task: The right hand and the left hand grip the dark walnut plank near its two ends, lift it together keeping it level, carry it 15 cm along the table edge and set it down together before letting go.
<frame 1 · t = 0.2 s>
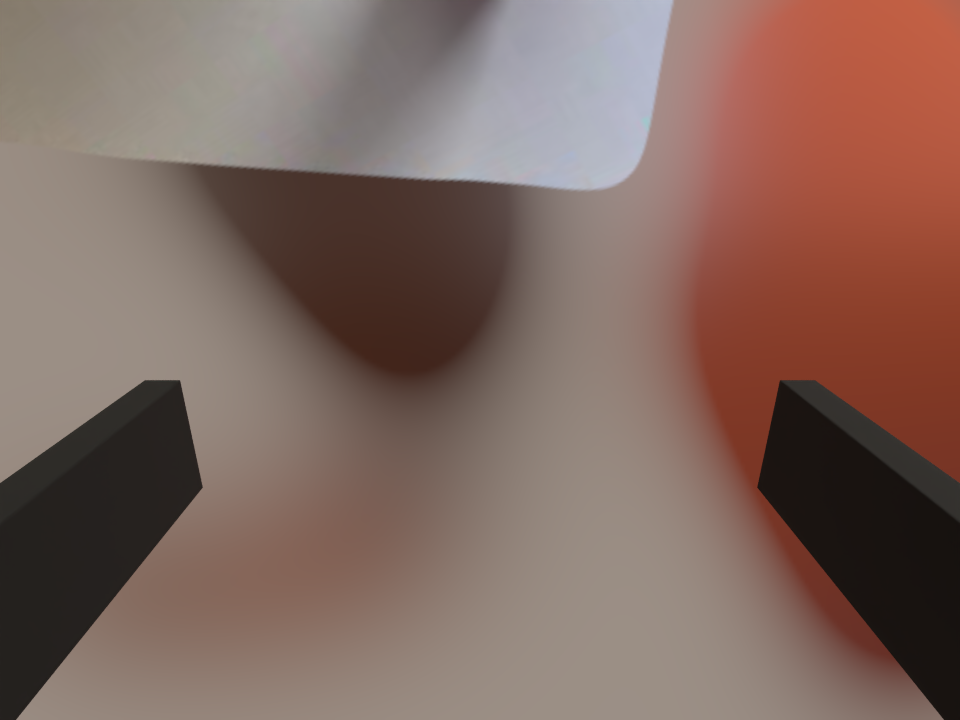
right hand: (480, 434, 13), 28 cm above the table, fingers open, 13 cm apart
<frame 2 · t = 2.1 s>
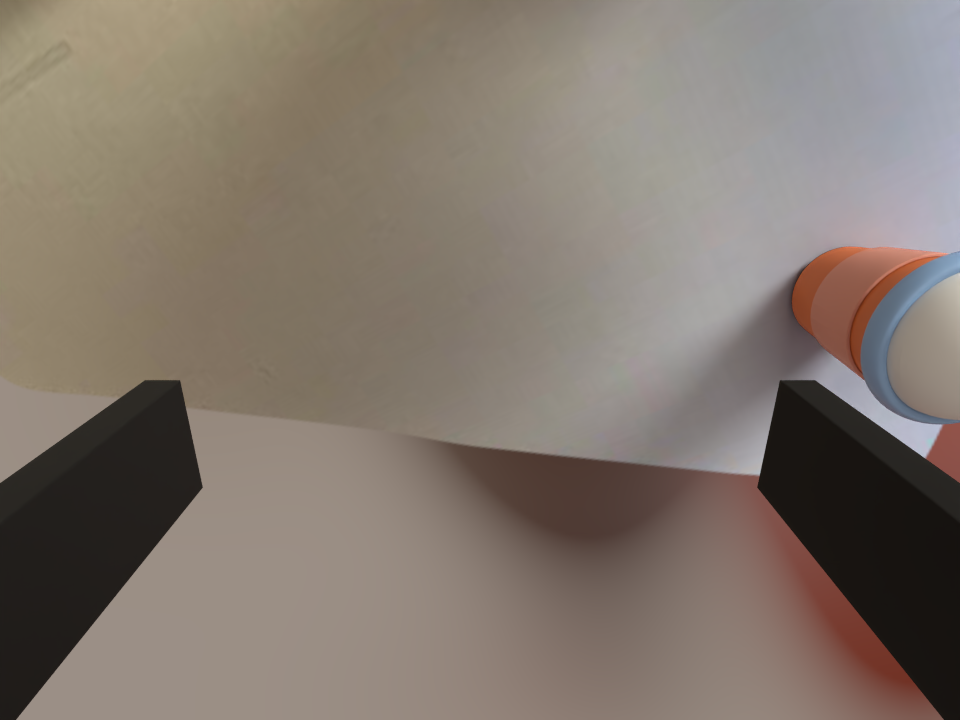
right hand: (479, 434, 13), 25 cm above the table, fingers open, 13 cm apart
cup with straw: (835, 291, 38), on the table
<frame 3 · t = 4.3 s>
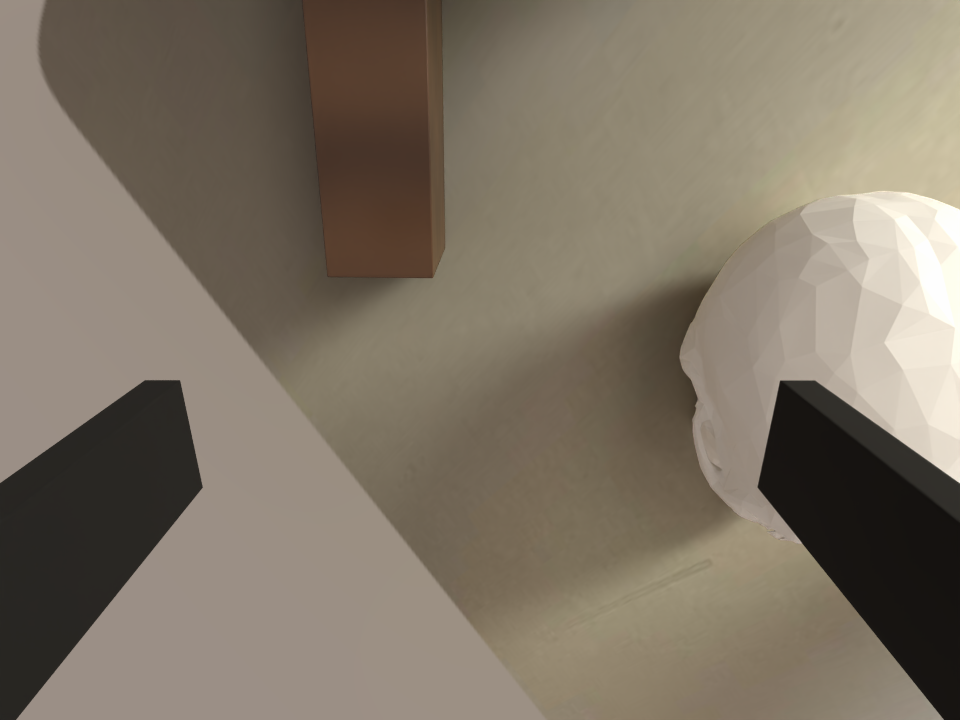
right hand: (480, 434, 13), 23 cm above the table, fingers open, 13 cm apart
skull: (764, 360, 36), on the table
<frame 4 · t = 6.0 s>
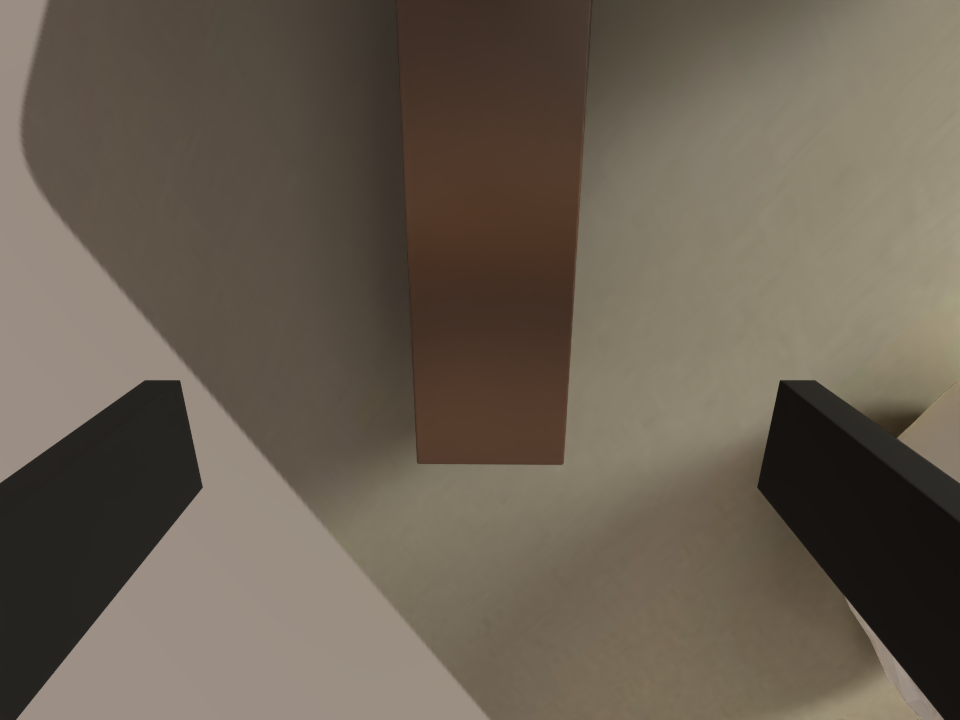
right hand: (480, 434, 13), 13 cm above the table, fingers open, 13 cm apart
walnut plank: (491, 67, 22), on the table, touching left hand
skull: (935, 501, 29), on the table
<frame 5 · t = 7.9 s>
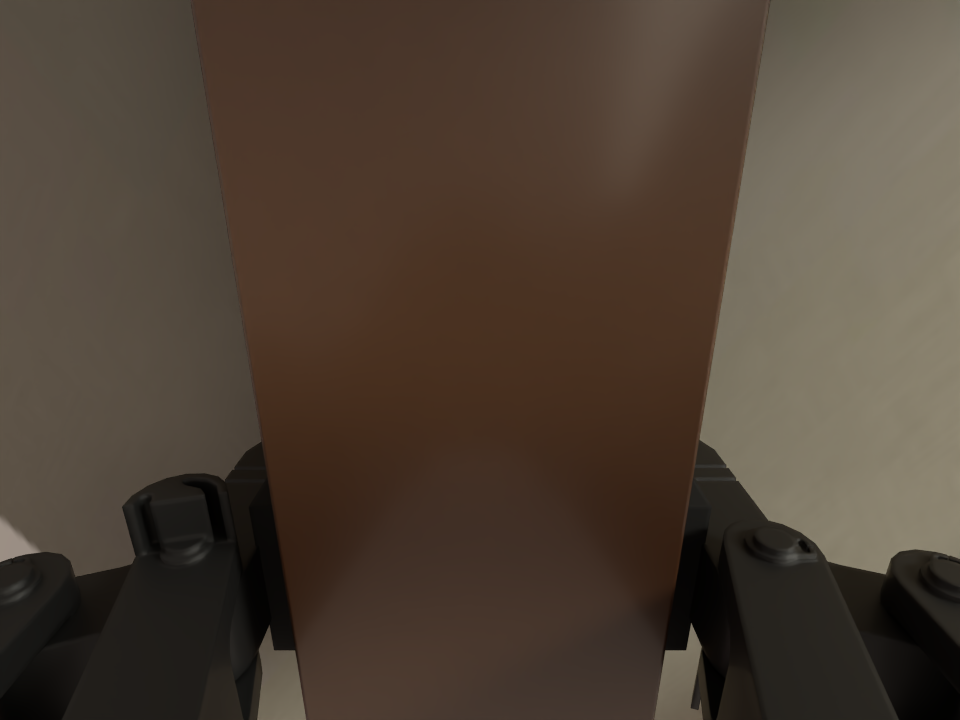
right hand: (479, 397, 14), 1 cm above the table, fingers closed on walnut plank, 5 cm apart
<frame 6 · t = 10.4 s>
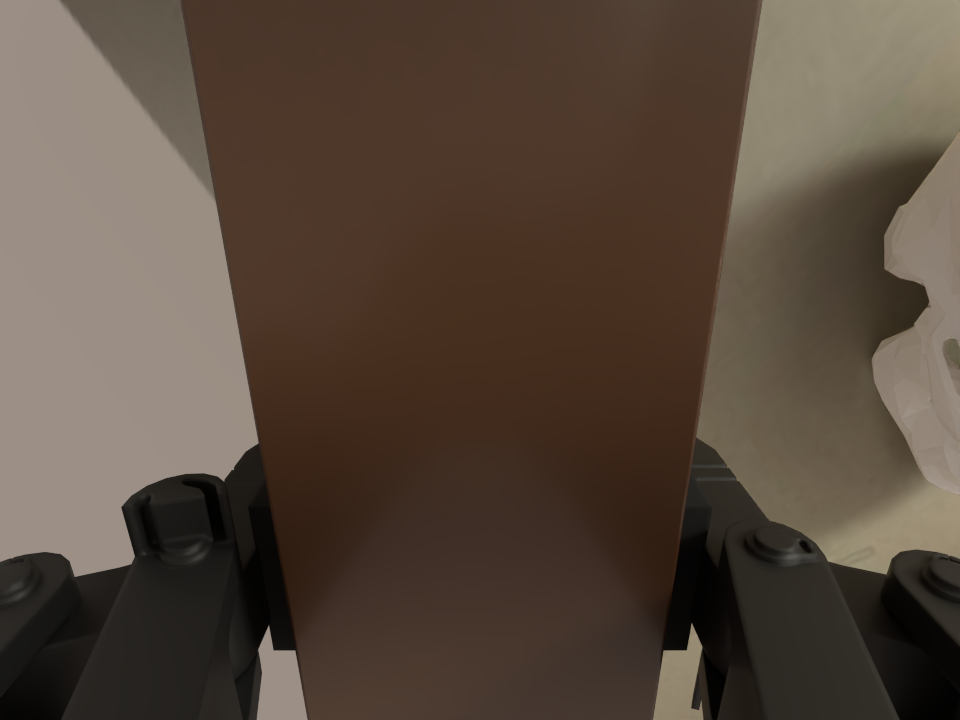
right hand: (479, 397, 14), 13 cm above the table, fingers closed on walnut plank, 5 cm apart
when the left hand's fingers open (2 cm above the table, at t = 13.3 s): walnut plank stays where it is, on the table.
when the right hand's fingers open (1 cm above the table, at t = 13.3 s): walnut plank stays where it is, on the table.
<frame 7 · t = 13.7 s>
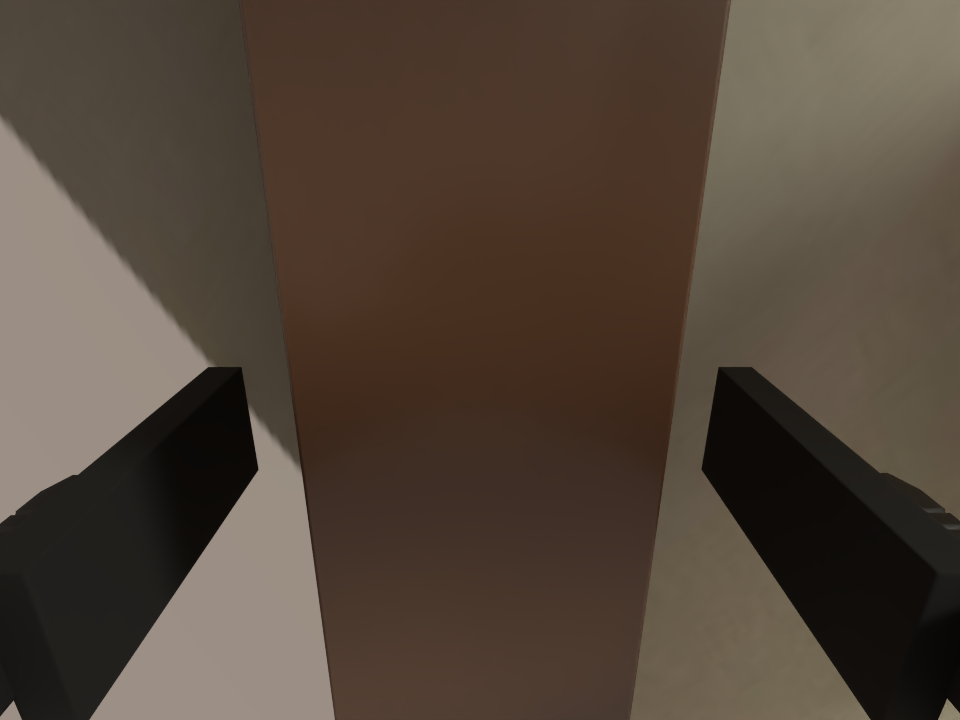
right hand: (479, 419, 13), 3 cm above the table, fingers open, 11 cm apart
walnut plank: (482, 0, 12), on the table
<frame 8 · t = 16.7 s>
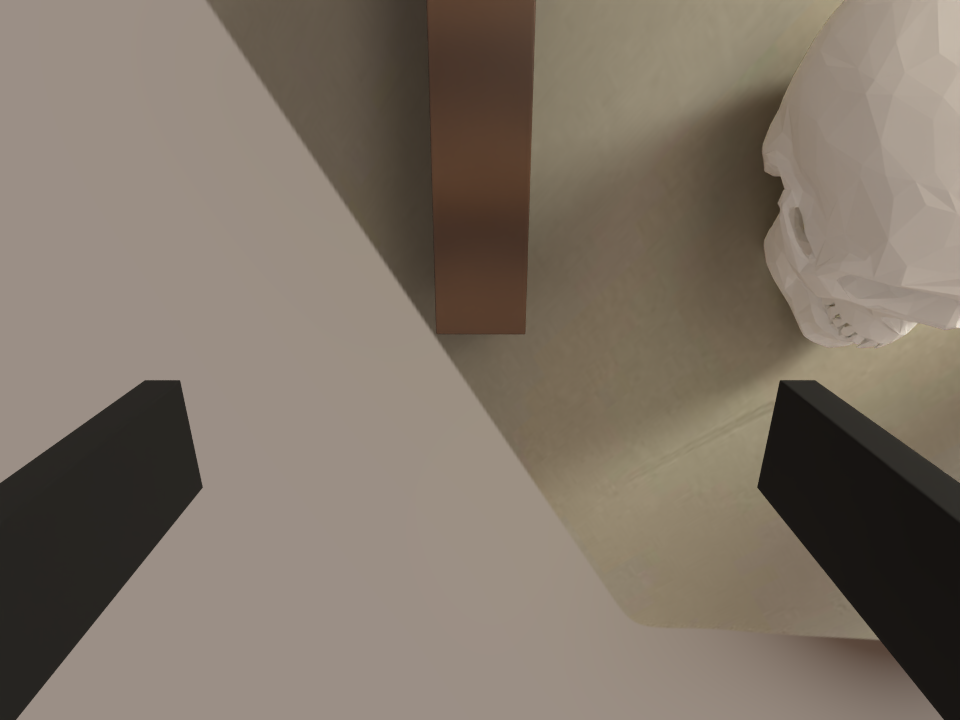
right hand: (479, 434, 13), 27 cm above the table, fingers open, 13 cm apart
walnut plank: (480, 90, 34), on the table
skull: (837, 176, 36), on the table
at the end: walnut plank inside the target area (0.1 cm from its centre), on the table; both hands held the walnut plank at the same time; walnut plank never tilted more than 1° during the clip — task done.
